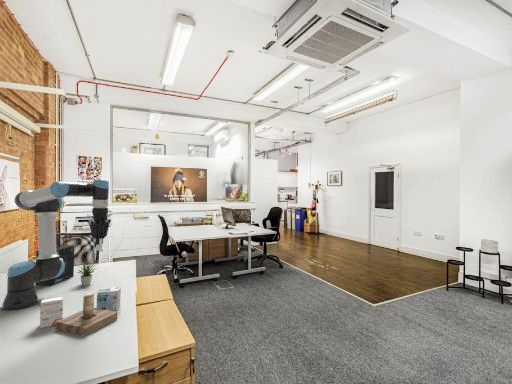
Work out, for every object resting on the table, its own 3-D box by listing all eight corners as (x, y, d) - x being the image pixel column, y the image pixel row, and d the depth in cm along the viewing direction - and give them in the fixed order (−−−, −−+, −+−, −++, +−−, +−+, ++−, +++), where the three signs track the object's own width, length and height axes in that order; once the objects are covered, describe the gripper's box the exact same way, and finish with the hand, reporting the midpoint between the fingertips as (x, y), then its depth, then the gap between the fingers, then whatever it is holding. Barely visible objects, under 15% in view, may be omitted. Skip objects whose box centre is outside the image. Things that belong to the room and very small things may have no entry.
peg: (80, 325, 129) (81, 295, 130) (88, 321, 134) (89, 292, 134) (87, 326, 128) (88, 297, 128) (95, 322, 132) (96, 294, 132)
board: (55, 329, 125) (55, 321, 125) (90, 313, 142) (90, 306, 142) (84, 336, 119) (85, 328, 120) (117, 318, 137) (117, 311, 137)
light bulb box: (95, 312, 144) (96, 292, 144) (99, 307, 150) (100, 288, 151) (117, 310, 147) (118, 290, 147) (120, 305, 153) (121, 286, 153)
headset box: (51, 286, 183) (52, 248, 184) (34, 285, 184) (35, 247, 184) (74, 276, 206) (75, 242, 206) (59, 276, 206) (60, 242, 207)
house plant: (104, 281, 195) (105, 259, 195) (90, 287, 181) (91, 263, 181) (86, 280, 196) (86, 258, 197) (71, 286, 182) (72, 262, 183)
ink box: (62, 319, 134) (63, 296, 135) (62, 323, 130) (63, 299, 131) (40, 324, 130) (41, 299, 130) (39, 328, 126) (40, 302, 126)
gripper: (95, 208, 141) (93, 253, 141) (115, 207, 153) (113, 248, 153) (84, 207, 143) (82, 251, 143) (105, 207, 156) (103, 247, 155)
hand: (98, 250), depth 148 cm, fingers closed
